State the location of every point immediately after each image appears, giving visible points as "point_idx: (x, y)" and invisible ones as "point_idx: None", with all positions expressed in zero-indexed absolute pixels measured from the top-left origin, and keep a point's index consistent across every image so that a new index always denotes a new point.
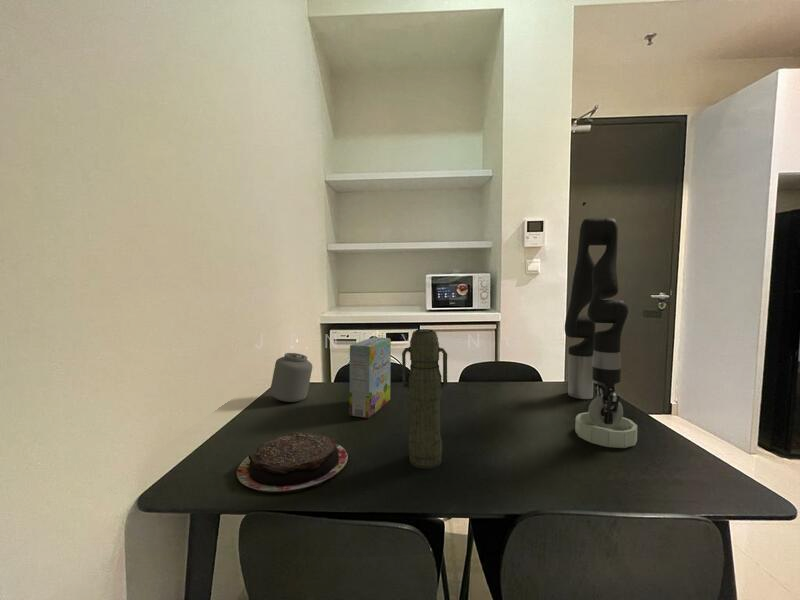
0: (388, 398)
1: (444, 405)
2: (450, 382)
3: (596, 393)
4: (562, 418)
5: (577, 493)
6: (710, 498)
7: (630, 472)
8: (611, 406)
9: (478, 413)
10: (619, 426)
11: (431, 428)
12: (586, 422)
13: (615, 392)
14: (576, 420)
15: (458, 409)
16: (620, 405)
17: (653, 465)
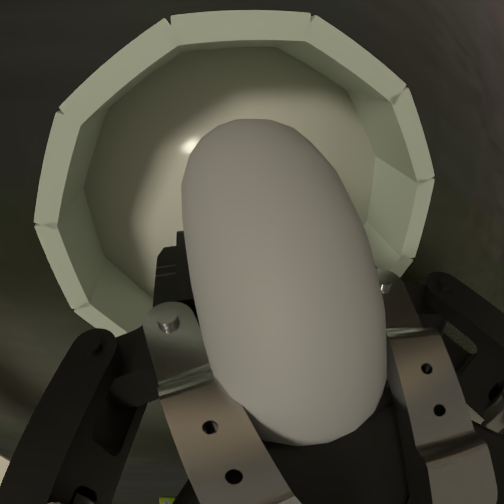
0: (168, 502)
1: (140, 478)
2: (6, 458)
3: (122, 468)
4: (63, 338)
5: (499, 306)
6: None
7: (499, 203)
8: (388, 326)
9: (156, 459)
10: (126, 93)
11: None
12: (126, 285)
13: (489, 461)
14: None
15: (150, 471)
16: (354, 215)
17: (488, 113)
